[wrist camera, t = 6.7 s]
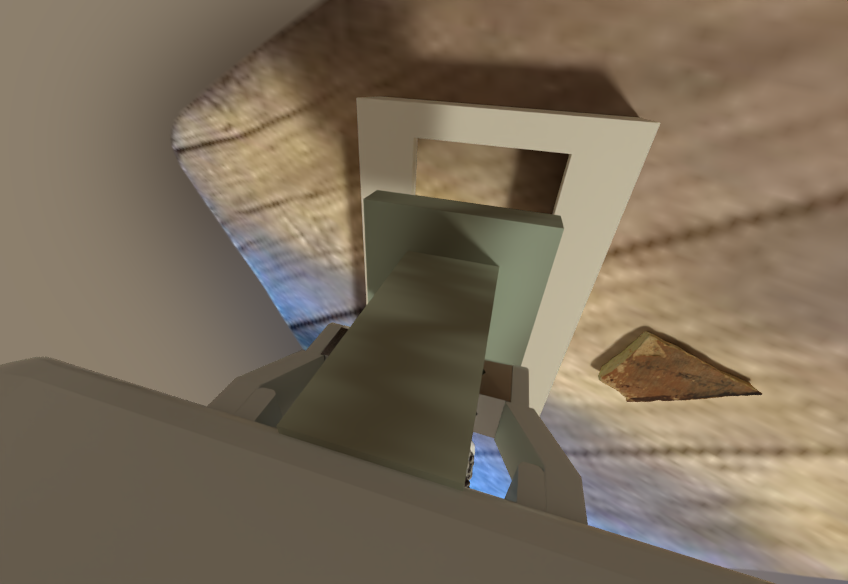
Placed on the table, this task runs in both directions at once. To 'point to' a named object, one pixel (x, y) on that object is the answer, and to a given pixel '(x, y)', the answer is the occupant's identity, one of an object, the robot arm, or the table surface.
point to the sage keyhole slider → (428, 332)
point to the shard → (667, 374)
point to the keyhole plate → (576, 202)
